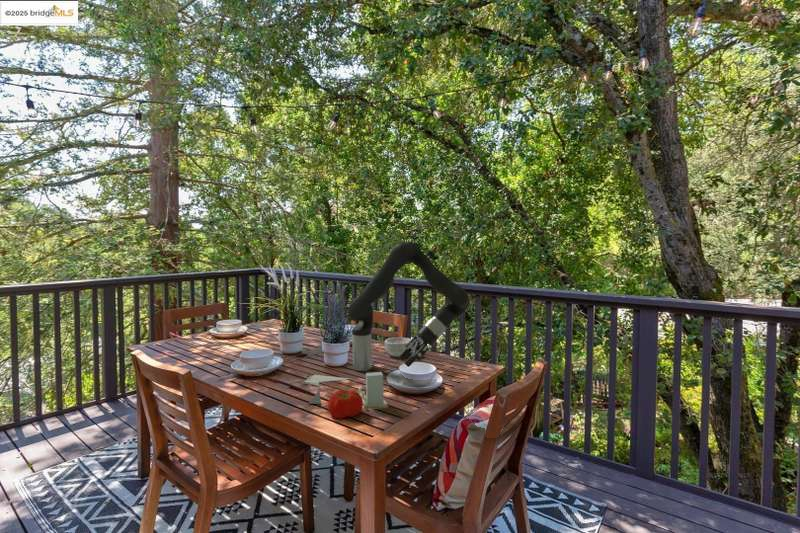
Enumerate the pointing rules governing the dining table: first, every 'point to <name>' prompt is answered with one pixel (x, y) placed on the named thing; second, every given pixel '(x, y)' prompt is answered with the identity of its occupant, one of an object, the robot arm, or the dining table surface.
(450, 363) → the dining table surface
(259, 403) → the dining table surface
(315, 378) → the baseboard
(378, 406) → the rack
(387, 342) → the paper bowls
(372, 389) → the pale green block
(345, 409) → the tomato
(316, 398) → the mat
